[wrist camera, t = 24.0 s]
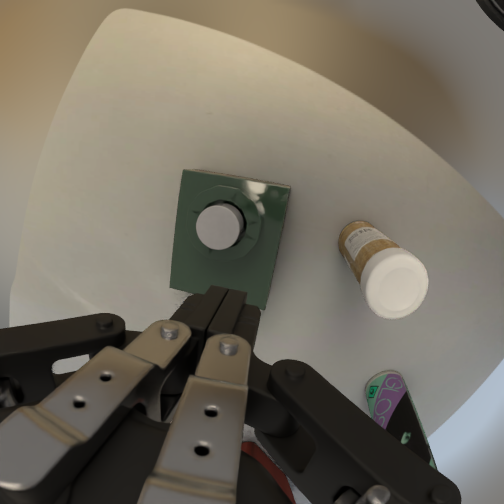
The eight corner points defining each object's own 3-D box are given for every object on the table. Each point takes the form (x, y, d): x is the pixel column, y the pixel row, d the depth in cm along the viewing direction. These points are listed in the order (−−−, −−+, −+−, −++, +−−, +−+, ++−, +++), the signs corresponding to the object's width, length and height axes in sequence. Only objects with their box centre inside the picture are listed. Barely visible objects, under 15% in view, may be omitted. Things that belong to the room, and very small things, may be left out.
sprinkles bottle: (341, 265, 31) (367, 328, 18) (334, 223, 30) (362, 262, 17) (381, 258, 30) (430, 313, 17) (376, 216, 29) (429, 248, 16)
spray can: (385, 364, 33) (428, 494, 14) (410, 380, 33) (455, 498, 14) (356, 391, 35) (377, 521, 16) (382, 405, 35) (410, 524, 16)
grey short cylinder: (206, 199, 25) (199, 202, 23) (247, 207, 25) (243, 210, 23) (200, 239, 26) (193, 245, 24) (240, 247, 26) (235, 254, 24)
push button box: (196, 169, 30) (174, 169, 25) (290, 185, 29) (289, 188, 24) (182, 275, 34) (161, 295, 28) (268, 294, 33) (262, 320, 27)
